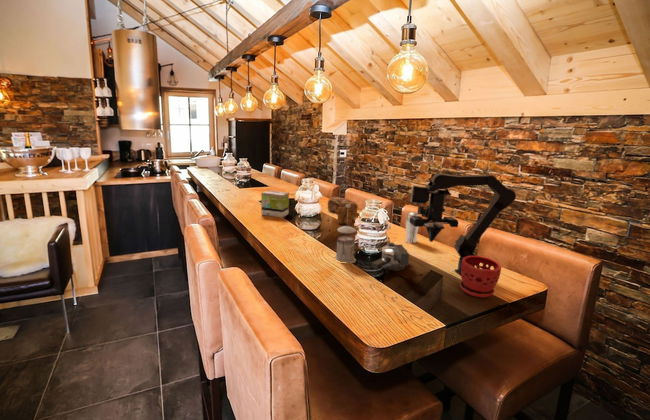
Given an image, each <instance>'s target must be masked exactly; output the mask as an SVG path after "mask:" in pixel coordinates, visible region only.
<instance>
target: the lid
mask: <svg viewBox="0 0 650 420" xmlns="http://www.w3.org/2000/svg"><path fill="white" fill-rule="evenodd" d="M382 252H383V253H384V254H386V255H390V256H394V257H395V258H396V260H397V261H398V263H399V264H400V265H403V266H405V267H406V266H407V267H408V266H409V259H410V258H409V257H410V253H409V252H408V250H407V249H406V248H405V247H404V245H403V244H395V243H394V242H387V244H386V245H385V246H383V247H382V248H381V253H382Z"/></svg>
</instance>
